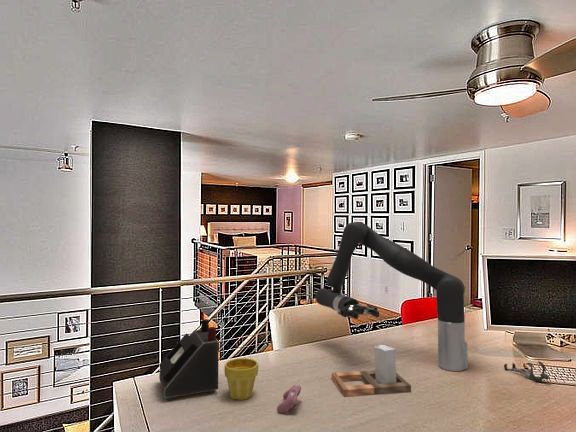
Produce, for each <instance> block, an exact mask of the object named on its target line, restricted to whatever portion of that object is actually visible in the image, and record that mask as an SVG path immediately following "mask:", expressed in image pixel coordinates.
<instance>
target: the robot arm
mask: <svg viewBox="0 0 576 432" xmlns="http://www.w3.org/2000/svg"><path fill="white" fill-rule="evenodd" d="M358 245H362V246H363V247H366V248H368V249H370V250H371V251H373V252H374V253H376V255H377V256H379V258H380V259H381V260H382V261H383V262H384V263H385V264H386V265H388V266H389V267H391V268H393V269H394V270H396V271H397V272H399V273H400V274H404V275H405V276H408V277H409V278H410V277H411V278H412V279H416V280H418V281H421V282H422V283H425V284H426V285H427V286H430V287H431V288H432V289H434V290H435V291H436V312H437V361H438V362H437V364H438V367H439V368H440V369H443V370H446V371H451V372H461V371H465V370H467V369H468V362H469V361H468V342H467V341H466V338H465V337H466V335H465V333H466V331H465V330H466V329H465V326H466V325H465V317H466V316H465V307H464V306H465V299H464V297H465V291H466V290H465V289H466V288H465V285H464V282H463V281H462V280H461V279H460V278H459V277H456V276H454V275H452V274H451V273H448V272H446V271H443V270H441V269H439V268H437V267H435V266H434V265H432V264H431V263H429V262H427V261H426V260H425V259H424V258H422V257H420V256H419V255H417V254H415V253H414V252H412V251H411V250H409V249H407V248H406V247H404V246H402V245H401V244H398V243H396V242H394V241H392V240H391V239H390V238H389V239H388V238H386V237H385V236H382V235H381V234H379V232H377V231H375V230H373V228H371V227H370V226H369V225H367V224H365V223H363V222H361V221H353V222H349V223H348V224H347V225H345V227H344V228H343V232H342V236H341V239H340V243H339V247H338V251H337V254H336V257H335V258H334V261H333V264H332V266H331V269H330V271H329V273H328V275H327V278H326V284H327V285H328V286H329V287H330V288H332V290H331V289H328V288H323V287H322V288H319V289H318V290H317V291H316V292H315V297H314V298H315V301H316V304H319V305H320V306H323V307H326V308H329V309H332V310H334V311H335V312H337V314H338V315H340V316H341V317H343V318H350V319H352V318H353V319H355V320H358V319H359V316H366V317H367V316H373V317H374V318H379V317H380V311H378V307H376V306H373V305H370V304H366V305H362V304H360V303H359V301H358V300H357V299H356V298H353V297H351V296H348V295H345V294H341V293H342V287H343V284H344V282H345V280H346V278H347V275H348V272H349V269H350V264H351V259H352V256H353V254H354V251H355V250H356V249H357V247H358Z"/></svg>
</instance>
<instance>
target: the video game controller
mask: <svg viewBox="0 0 576 432" xmlns="http://www.w3.org/2000/svg"><path fill="white" fill-rule="evenodd" d="M301 390H302V386H300V385H299V384H296V383H294V384H293V385H292V386H290V388H289V389H288V390H286V391H285V392H284V393H283V395H282V398H283V399H284V400H283V401H282V402H280V403H279V404H278V405H277V407H276V411H277V412H278V413H279V414H283V413H286V412H288V411H289V410H290V411H291V410H292V409H293V407H294V406H297V405H298V404H299V400H298V397H299V395H300V394H301V392H302V391H301Z"/></svg>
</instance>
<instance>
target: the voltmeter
mask: <svg viewBox="0 0 576 432" xmlns="http://www.w3.org/2000/svg"><path fill="white" fill-rule="evenodd" d="M209 321H210V320H209V319H201V326H200V329H195V330H194V329H193V331H192V332H191V333H190V334H188V333H185V334H184V335H183V336H182V338H181V339H180V340H179V341H178V342H177V343H176V344H175V346H173V348H172V349H171V350H170V351H169V352H168V353H167V355H166V356H165V357H164V359H163V360H162V361H161V362H160V363H159V373H158V374H159V383H160V386H161V390H162V394H163V397H164V399H167V400H168V401H173V400H175V399H176V398H175V397H179V396H181V397H182V396H186V395H187V396H188V395H192V394H193V395H194V394H198V393H204V392H206V394H213V393H214V391H216V390H219V343H220V342H219V340H218V339H217V331H216V329H217V328H216V327H215V326H210V324H209Z"/></svg>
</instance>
